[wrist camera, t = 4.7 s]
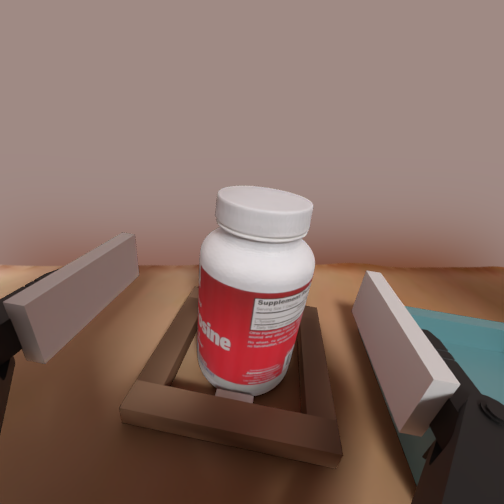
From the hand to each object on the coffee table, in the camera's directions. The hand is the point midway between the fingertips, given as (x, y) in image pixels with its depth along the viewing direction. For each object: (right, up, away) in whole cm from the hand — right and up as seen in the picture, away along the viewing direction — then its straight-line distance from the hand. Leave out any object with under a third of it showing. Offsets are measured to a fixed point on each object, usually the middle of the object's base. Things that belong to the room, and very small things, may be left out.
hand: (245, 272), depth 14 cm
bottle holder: (0, -6, +3) cm, 7 cm away
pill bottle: (0, -6, +3) cm, 7 cm away
